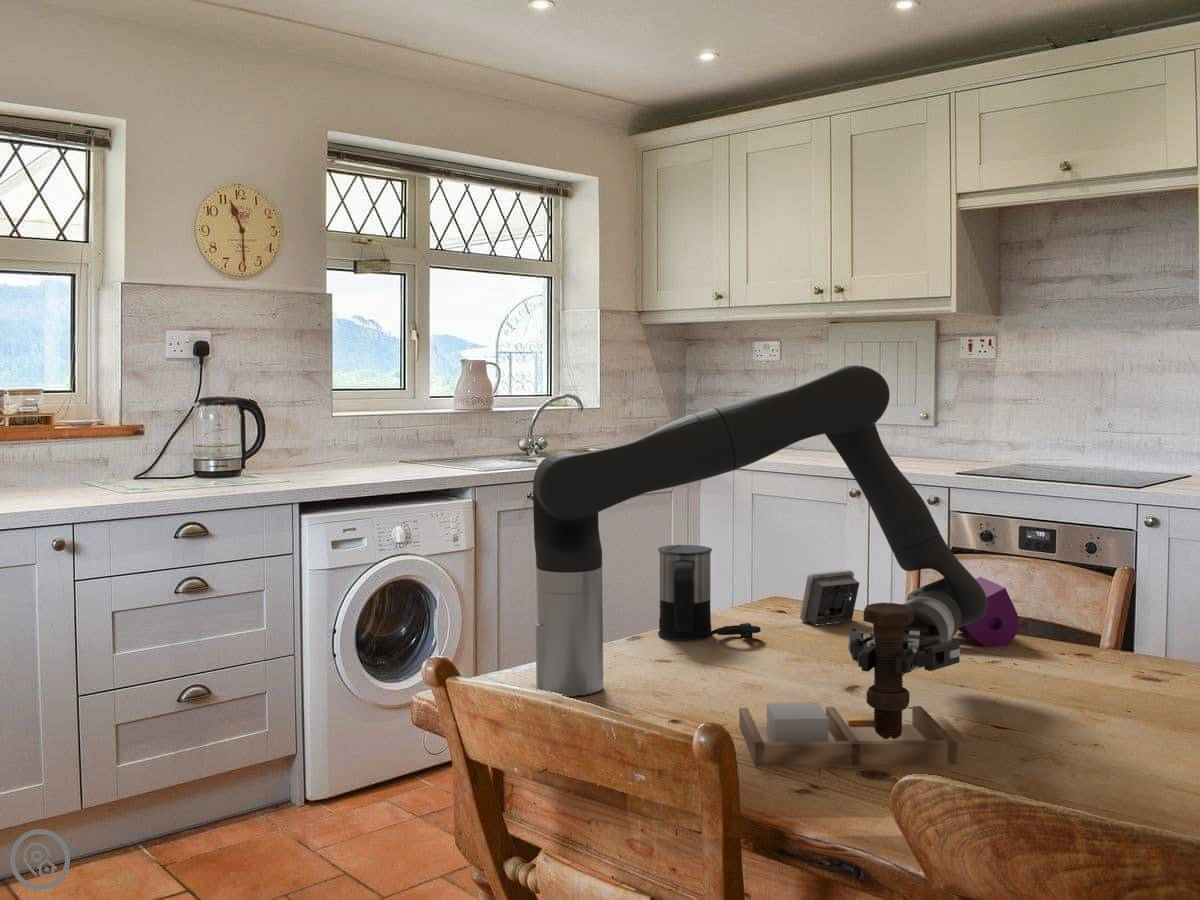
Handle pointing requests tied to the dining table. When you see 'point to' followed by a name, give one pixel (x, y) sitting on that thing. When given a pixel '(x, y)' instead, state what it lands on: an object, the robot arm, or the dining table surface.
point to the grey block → (796, 722)
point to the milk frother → (689, 595)
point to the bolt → (888, 666)
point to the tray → (854, 743)
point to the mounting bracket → (994, 617)
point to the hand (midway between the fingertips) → (881, 664)
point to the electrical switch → (829, 597)
